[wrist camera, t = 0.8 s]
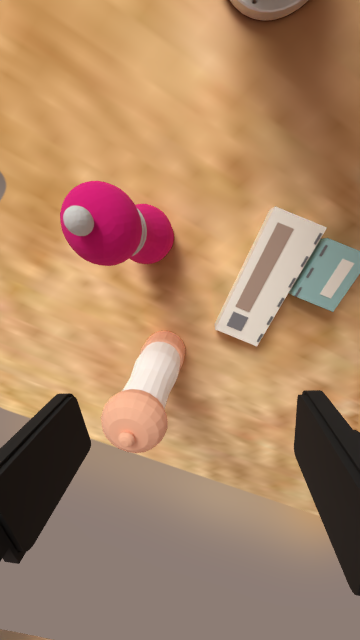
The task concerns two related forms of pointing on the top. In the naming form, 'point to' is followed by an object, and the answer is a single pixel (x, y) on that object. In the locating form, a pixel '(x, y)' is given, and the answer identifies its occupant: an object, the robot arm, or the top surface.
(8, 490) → the robot arm
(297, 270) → the ticket
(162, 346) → the pepper shaker
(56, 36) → the top surface
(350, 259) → the stub
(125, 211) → the pepper mill
